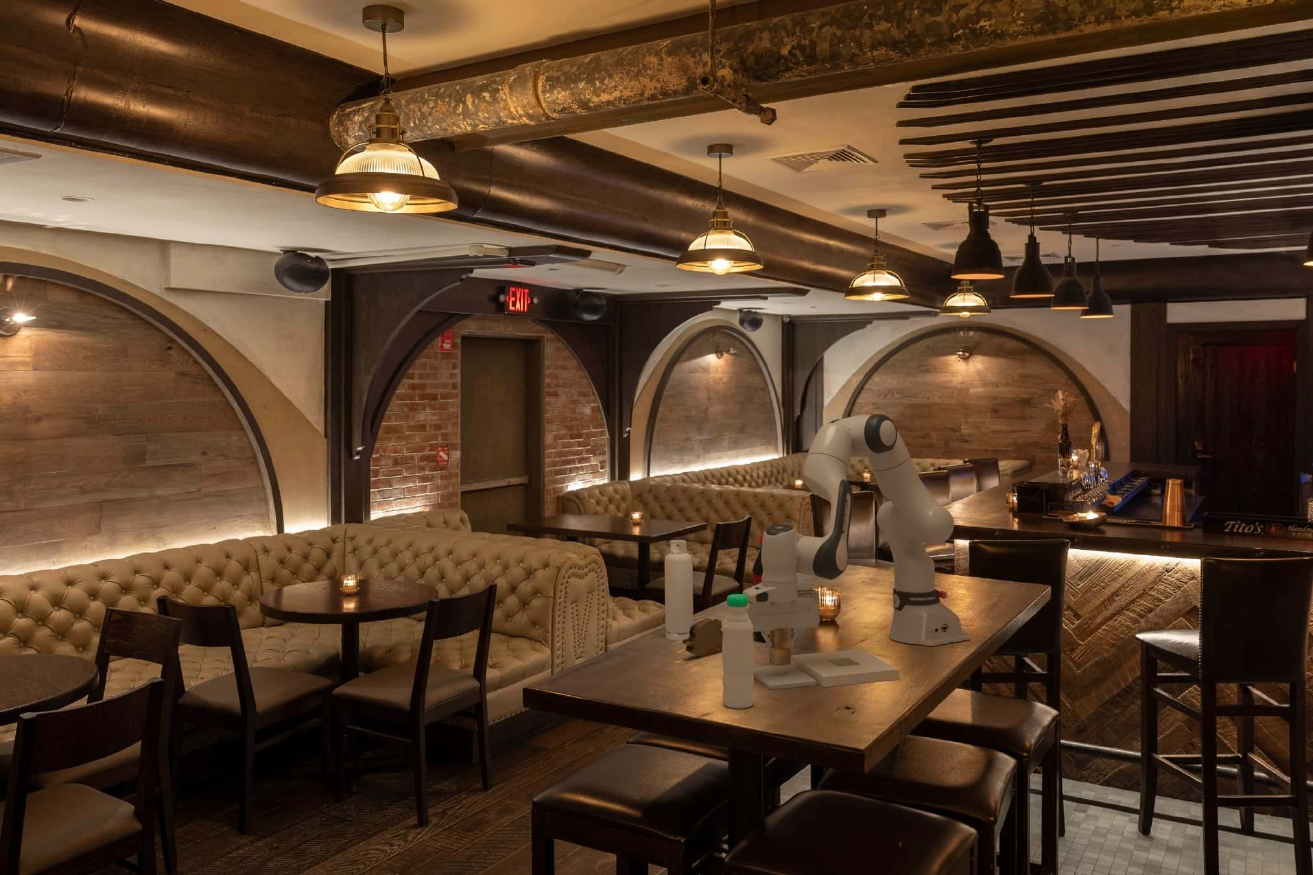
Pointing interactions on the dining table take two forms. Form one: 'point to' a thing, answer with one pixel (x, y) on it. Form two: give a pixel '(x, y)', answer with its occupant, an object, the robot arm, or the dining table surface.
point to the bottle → (678, 591)
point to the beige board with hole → (844, 667)
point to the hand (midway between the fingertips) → (779, 646)
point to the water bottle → (737, 654)
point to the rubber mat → (782, 677)
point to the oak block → (780, 647)
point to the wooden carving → (704, 637)
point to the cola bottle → (758, 582)
